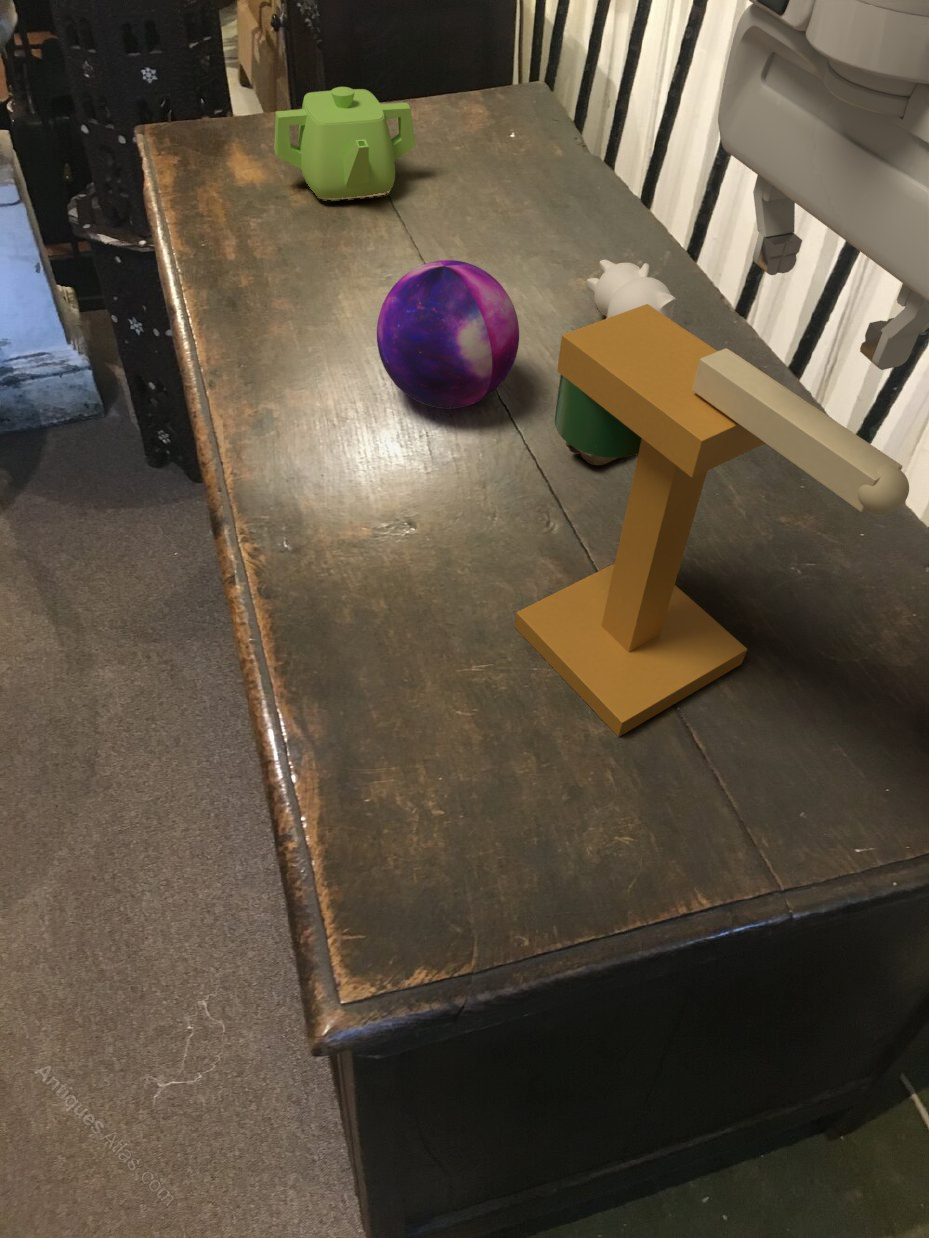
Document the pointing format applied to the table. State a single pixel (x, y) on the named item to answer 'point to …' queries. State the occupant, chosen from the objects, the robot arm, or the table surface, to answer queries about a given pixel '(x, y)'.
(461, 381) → the decorative orb
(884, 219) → the robot arm
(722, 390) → the switch rod
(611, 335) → the desk lamp
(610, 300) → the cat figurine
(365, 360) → the table surface
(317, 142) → the teapot
